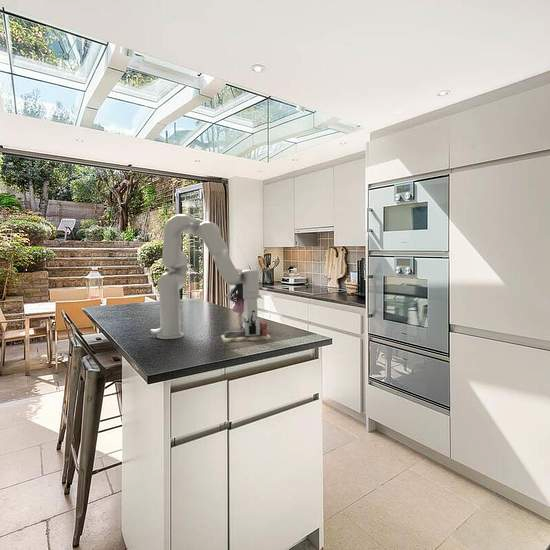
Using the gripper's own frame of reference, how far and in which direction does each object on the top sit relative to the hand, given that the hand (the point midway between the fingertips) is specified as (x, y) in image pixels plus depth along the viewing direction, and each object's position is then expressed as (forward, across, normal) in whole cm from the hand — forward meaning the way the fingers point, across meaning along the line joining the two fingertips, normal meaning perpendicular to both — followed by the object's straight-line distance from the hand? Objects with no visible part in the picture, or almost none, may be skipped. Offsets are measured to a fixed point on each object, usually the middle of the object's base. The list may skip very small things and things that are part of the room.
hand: (251, 332), depth 176 cm
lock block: (+1, 0, 0) cm, 1 cm away
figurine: (+3, -25, +1) cm, 25 cm away
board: (+3, 0, -3) cm, 4 cm away
